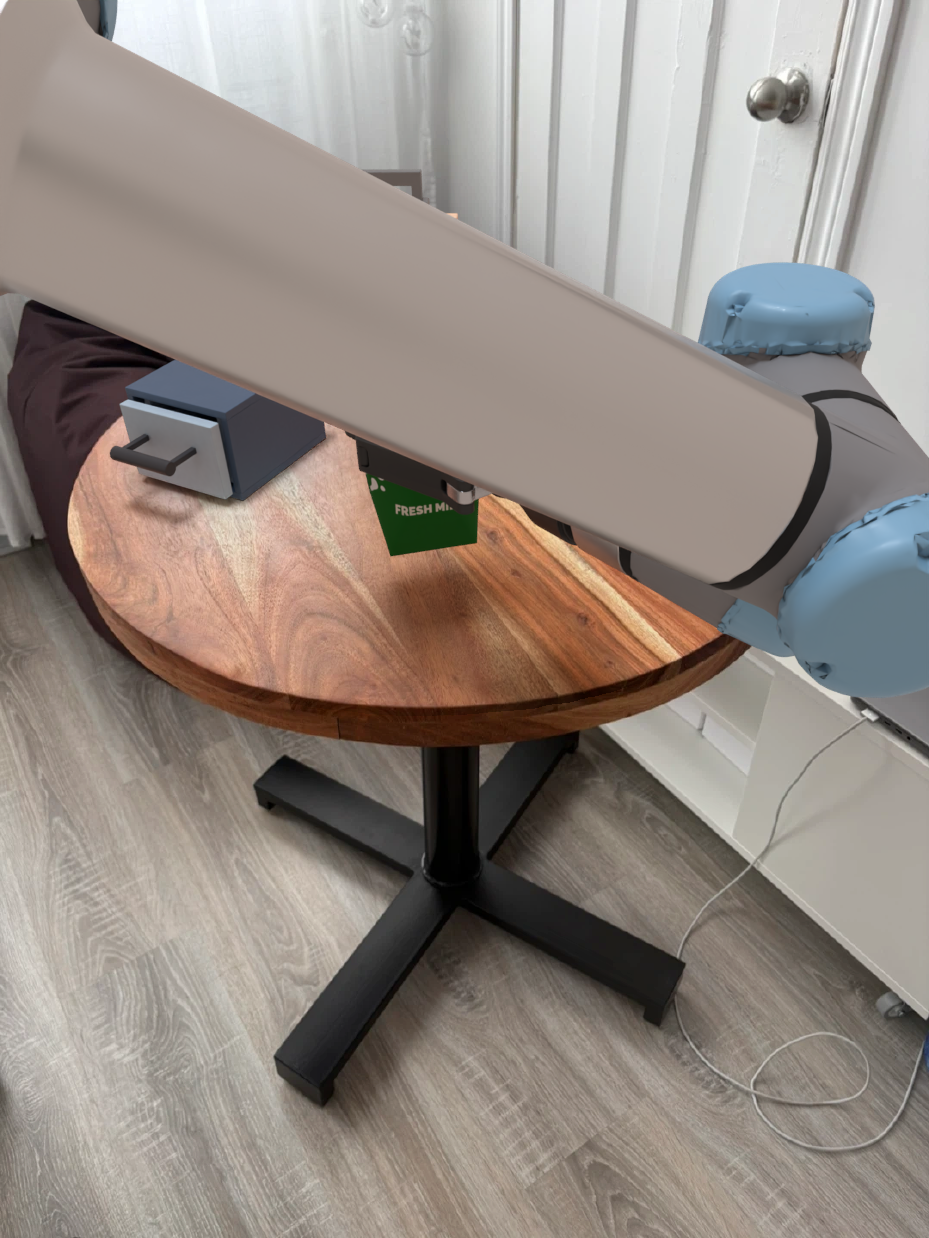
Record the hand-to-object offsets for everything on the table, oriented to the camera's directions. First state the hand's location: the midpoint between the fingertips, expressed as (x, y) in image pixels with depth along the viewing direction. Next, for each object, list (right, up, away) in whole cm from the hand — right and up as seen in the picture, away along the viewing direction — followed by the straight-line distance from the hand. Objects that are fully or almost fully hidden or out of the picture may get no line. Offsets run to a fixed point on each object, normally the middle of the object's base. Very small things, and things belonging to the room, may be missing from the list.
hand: (382, 382), depth 70 cm
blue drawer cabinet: (-18, 0, +29) cm, 34 cm away
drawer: (-20, -2, +25) cm, 32 cm away
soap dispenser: (-1, +16, +48) cm, 51 cm away
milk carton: (+3, -11, +4) cm, 12 cm away
